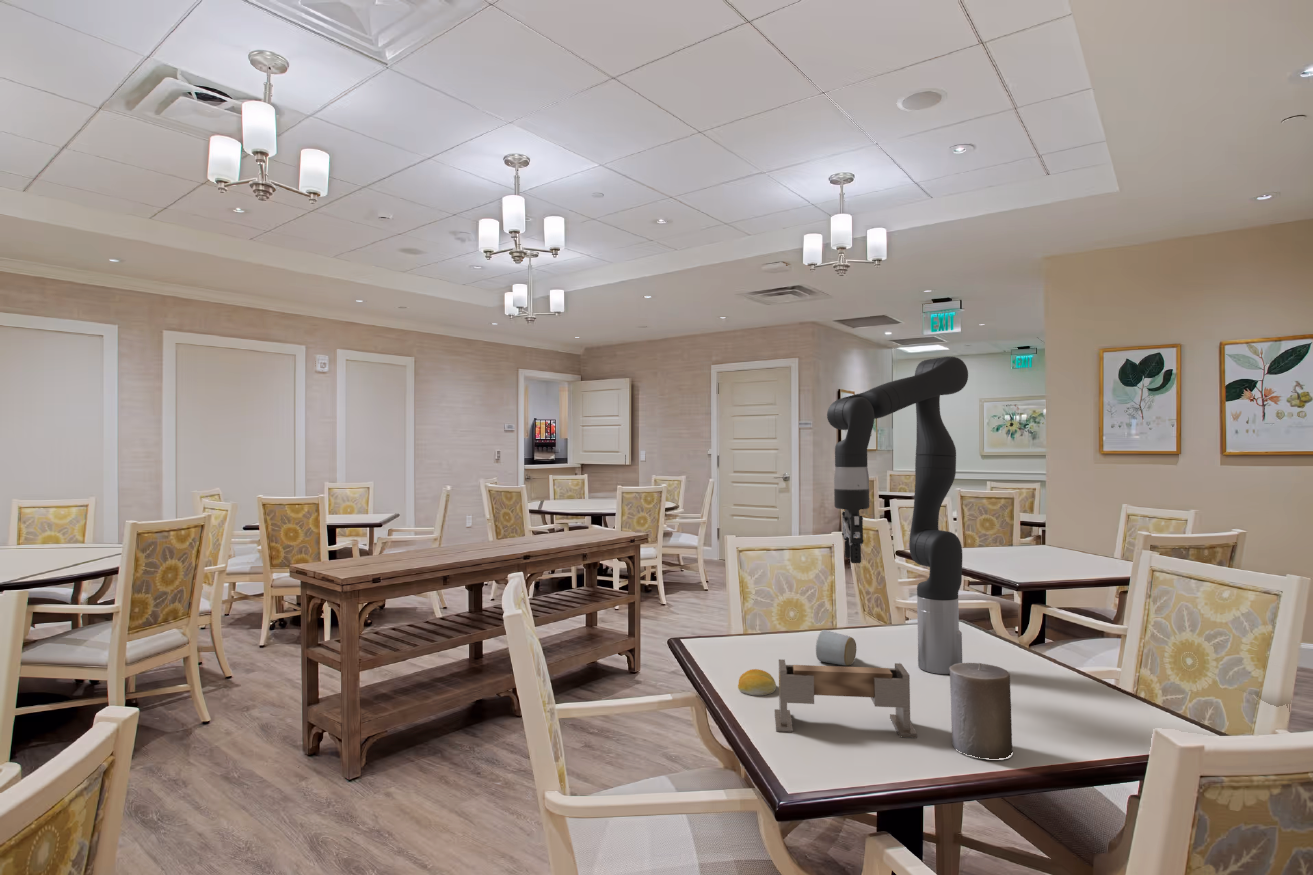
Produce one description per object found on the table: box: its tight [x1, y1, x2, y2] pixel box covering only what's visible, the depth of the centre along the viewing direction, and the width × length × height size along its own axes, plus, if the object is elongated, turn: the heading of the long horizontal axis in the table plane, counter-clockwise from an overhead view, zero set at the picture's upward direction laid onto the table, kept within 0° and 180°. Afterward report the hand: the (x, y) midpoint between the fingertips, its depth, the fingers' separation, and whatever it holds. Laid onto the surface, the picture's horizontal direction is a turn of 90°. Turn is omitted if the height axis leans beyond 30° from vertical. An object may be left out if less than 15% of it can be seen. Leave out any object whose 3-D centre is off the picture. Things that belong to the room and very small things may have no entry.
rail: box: [792, 664, 892, 698], centre depth 130 cm, size 18×4×4 cm, turn 82°
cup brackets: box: [774, 658, 918, 739], centre depth 130 cm, size 25×9×11 cm, turn 82°
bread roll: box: [737, 668, 777, 697], centre depth 150 cm, size 8×9×4 cm
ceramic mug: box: [815, 629, 857, 667], centre depth 170 cm, size 11×8×8 cm
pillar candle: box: [949, 662, 1014, 759], centre depth 119 cm, size 10×10×15 cm
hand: (852, 560), depth 151 cm, fingers open, 8 cm apart
